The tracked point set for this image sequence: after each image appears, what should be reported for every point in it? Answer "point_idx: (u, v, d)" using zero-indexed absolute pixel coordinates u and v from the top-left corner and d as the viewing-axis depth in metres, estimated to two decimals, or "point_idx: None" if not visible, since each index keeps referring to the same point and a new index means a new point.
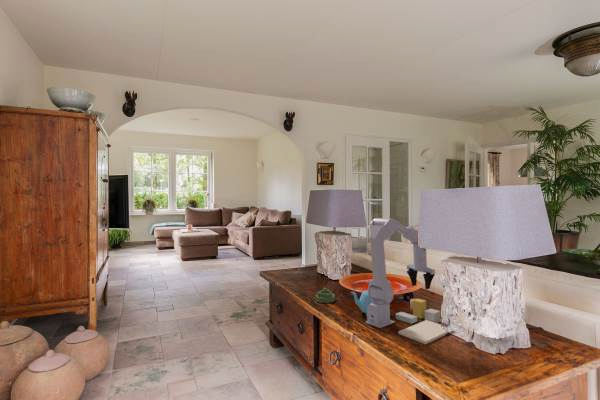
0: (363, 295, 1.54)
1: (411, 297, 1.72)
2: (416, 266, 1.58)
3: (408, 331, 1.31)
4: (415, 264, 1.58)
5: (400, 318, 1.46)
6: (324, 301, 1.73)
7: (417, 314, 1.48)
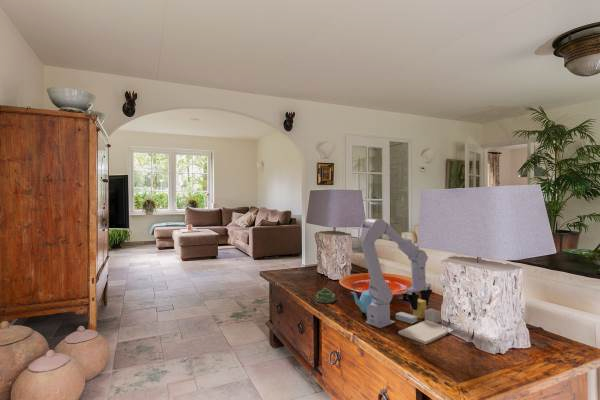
0: (363, 295, 1.54)
1: None
2: None
3: (408, 331, 1.31)
4: None
5: (400, 318, 1.46)
6: (324, 301, 1.73)
7: (417, 314, 1.48)
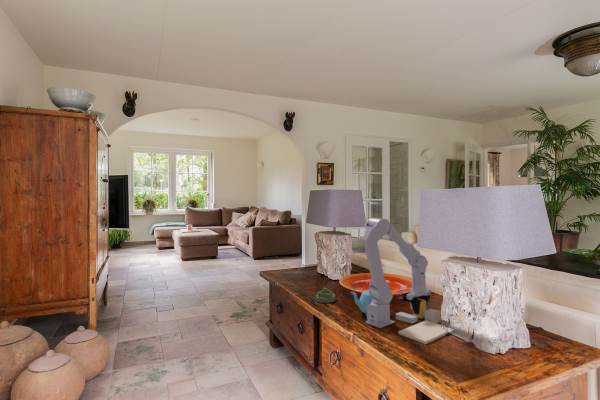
0: (363, 295, 1.54)
1: None
2: None
3: (408, 331, 1.31)
4: None
5: (400, 318, 1.46)
6: (324, 301, 1.73)
7: (417, 314, 1.48)
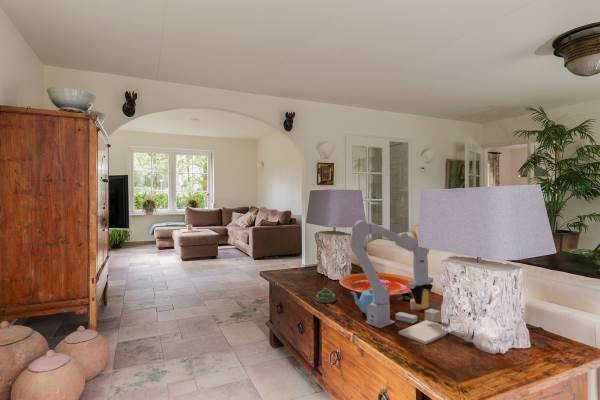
0: (363, 295, 1.54)
1: (411, 297, 1.71)
2: None
3: (408, 331, 1.31)
4: None
5: (400, 318, 1.45)
6: (324, 301, 1.73)
7: (419, 304, 1.41)
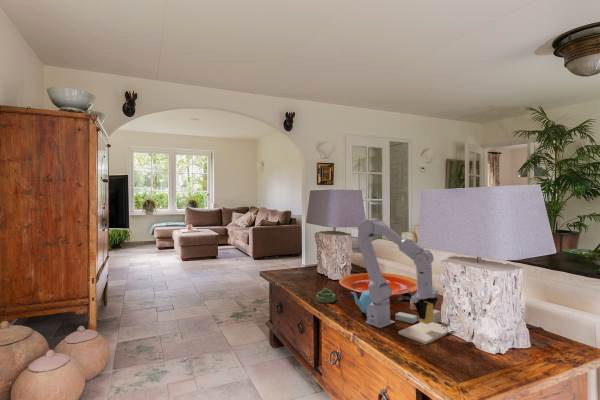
0: (363, 295, 1.54)
1: None
2: None
3: (408, 331, 1.31)
4: None
5: (401, 318, 1.45)
6: (324, 301, 1.73)
7: (423, 319, 1.31)
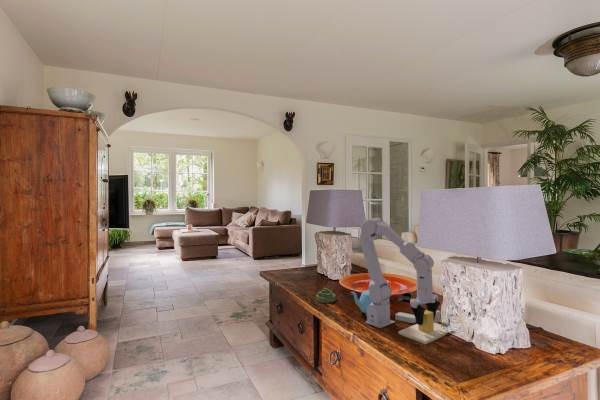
0: (363, 295, 1.54)
1: (411, 297, 1.71)
2: None
3: (408, 331, 1.31)
4: None
5: (401, 318, 1.45)
6: (325, 301, 1.73)
7: (423, 328, 1.31)
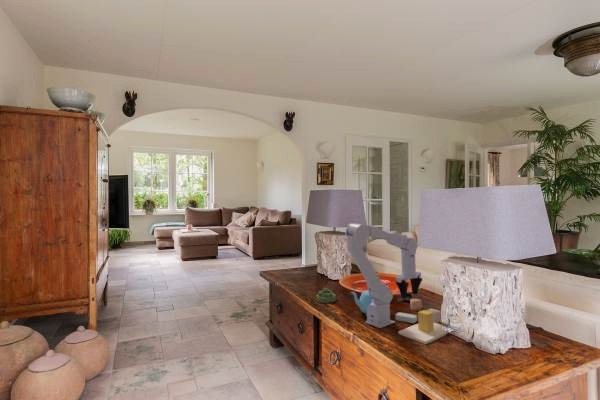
0: (363, 295, 1.54)
1: (411, 297, 1.71)
2: None
3: (408, 331, 1.31)
4: None
5: (401, 318, 1.45)
6: (325, 301, 1.73)
7: (423, 328, 1.31)
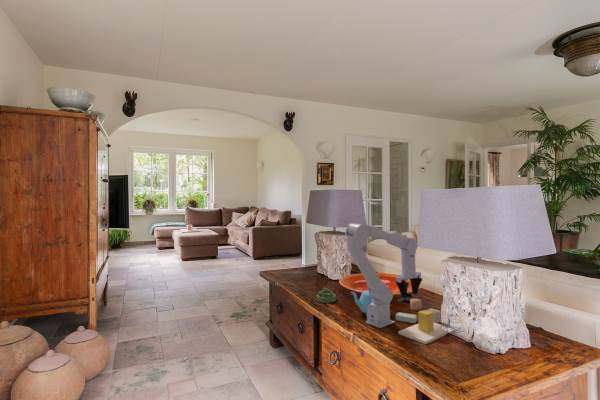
0: (363, 295, 1.54)
1: (411, 298, 1.71)
2: None
3: (408, 331, 1.31)
4: None
5: (401, 318, 1.45)
6: (325, 301, 1.73)
7: (423, 328, 1.31)
